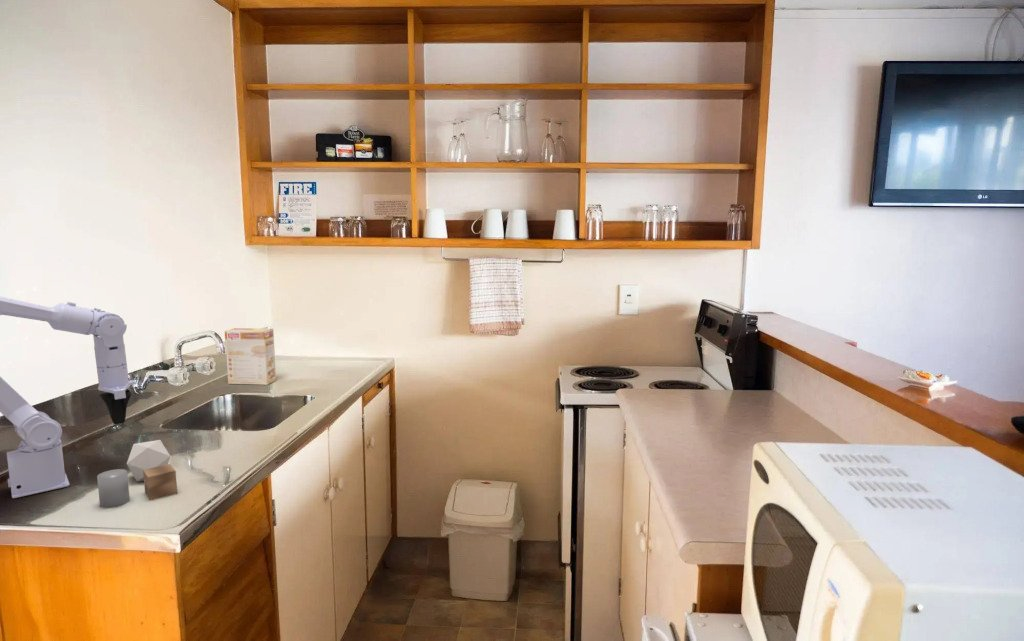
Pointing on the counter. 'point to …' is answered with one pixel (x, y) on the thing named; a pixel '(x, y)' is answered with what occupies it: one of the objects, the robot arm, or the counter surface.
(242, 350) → the coffeecake box
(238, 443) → the counter surface
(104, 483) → the grey cylinder
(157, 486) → the walnut block
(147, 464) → the pale grey faceted polyhedron
